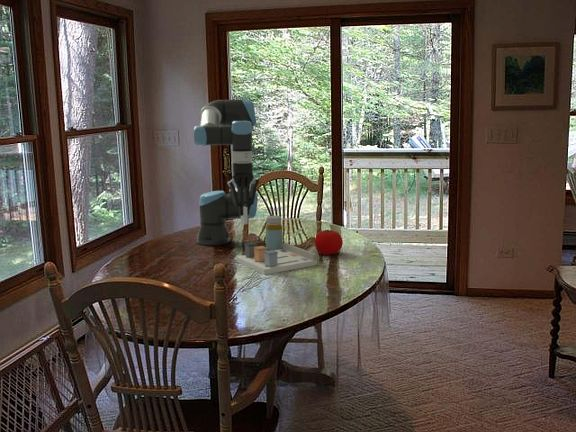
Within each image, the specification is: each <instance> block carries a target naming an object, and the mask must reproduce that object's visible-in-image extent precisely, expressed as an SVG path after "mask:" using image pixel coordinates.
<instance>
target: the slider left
mask: <svg viewBox="0 0 576 432" xmlns="http://www.w3.org/2000/svg"><path fill="white" fill-rule="evenodd" d="M243 245H244V255H245V256H247V257H254V247H258V243H256V242H254V241H251V242H250V241H249V242H244V244H243Z"/></svg>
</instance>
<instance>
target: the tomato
mask: <svg viewBox="0 0 576 432" xmlns="http://www.w3.org/2000/svg"><path fill="white" fill-rule="evenodd" d="M314 247H315V249H316V251H317V252H318V253H319V254H321V255H324V256H329V255H334V254H337V253H339V252H340V251H341V249H342V248H343V237H342V236H341V234H340V233H339V232H338V231H335V230H334V229H332V230H330V229H325V230H322V231H319V232H318V233H317V235H316V236H315V238H314Z"/></svg>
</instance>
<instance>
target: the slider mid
mask: <svg viewBox="0 0 576 432" xmlns="http://www.w3.org/2000/svg"><path fill="white" fill-rule="evenodd" d="M264 251H267V247H266V246H264V245H260V246H258V245H257V247H254V257H255V260H256V261H258V262H261V261H265V256H264Z"/></svg>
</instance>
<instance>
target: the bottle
mask: <svg viewBox="0 0 576 432" xmlns="http://www.w3.org/2000/svg"><path fill="white" fill-rule="evenodd" d="M265 247H267V251H269V250H279V249H283V226H282V217H281V215H273V214H272V215H267V216H266V226H265Z"/></svg>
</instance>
